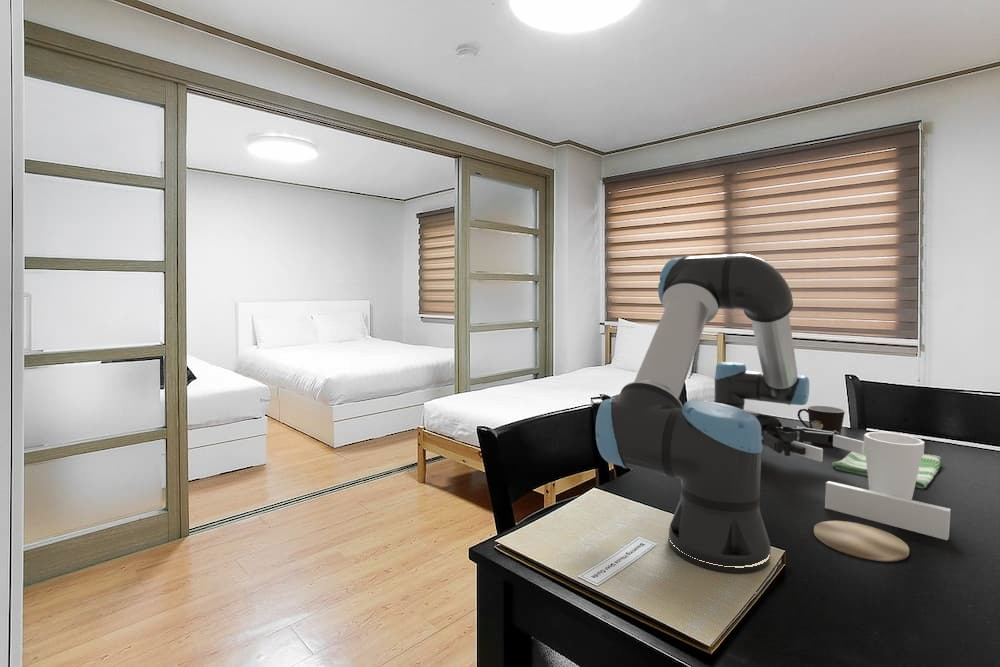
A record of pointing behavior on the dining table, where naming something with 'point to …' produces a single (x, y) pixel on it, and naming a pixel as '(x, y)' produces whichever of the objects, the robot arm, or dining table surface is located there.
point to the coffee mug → (824, 420)
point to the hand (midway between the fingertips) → (843, 451)
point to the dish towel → (859, 466)
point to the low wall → (889, 509)
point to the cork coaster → (861, 541)
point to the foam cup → (893, 462)
